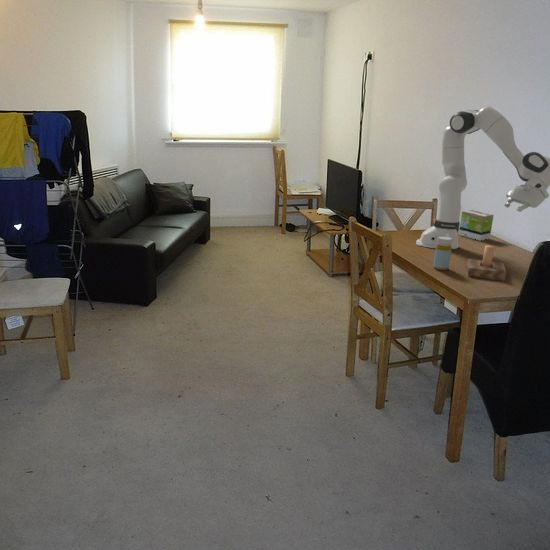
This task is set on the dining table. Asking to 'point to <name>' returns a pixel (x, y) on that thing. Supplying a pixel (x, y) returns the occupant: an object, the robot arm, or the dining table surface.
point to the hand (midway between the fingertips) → (511, 208)
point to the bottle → (442, 253)
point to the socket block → (486, 270)
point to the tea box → (476, 225)
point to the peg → (487, 256)
